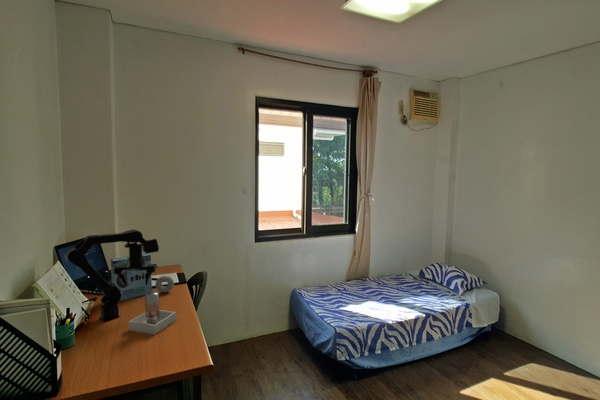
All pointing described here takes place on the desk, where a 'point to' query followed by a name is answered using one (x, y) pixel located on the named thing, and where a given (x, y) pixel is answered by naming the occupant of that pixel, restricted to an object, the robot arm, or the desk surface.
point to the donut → (164, 279)
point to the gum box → (131, 279)
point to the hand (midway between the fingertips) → (136, 285)
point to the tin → (152, 307)
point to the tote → (141, 326)
